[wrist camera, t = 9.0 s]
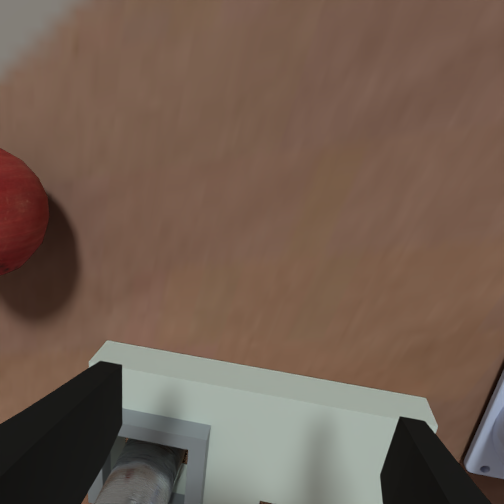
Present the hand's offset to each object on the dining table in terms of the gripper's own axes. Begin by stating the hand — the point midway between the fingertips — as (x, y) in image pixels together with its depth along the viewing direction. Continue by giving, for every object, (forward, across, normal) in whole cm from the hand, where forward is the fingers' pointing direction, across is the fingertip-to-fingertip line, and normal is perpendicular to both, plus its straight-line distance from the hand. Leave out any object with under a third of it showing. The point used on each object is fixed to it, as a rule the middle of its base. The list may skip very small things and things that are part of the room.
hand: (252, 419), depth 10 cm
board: (+10, 0, +14) cm, 17 cm away
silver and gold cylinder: (+10, +6, +12) cm, 17 cm away
